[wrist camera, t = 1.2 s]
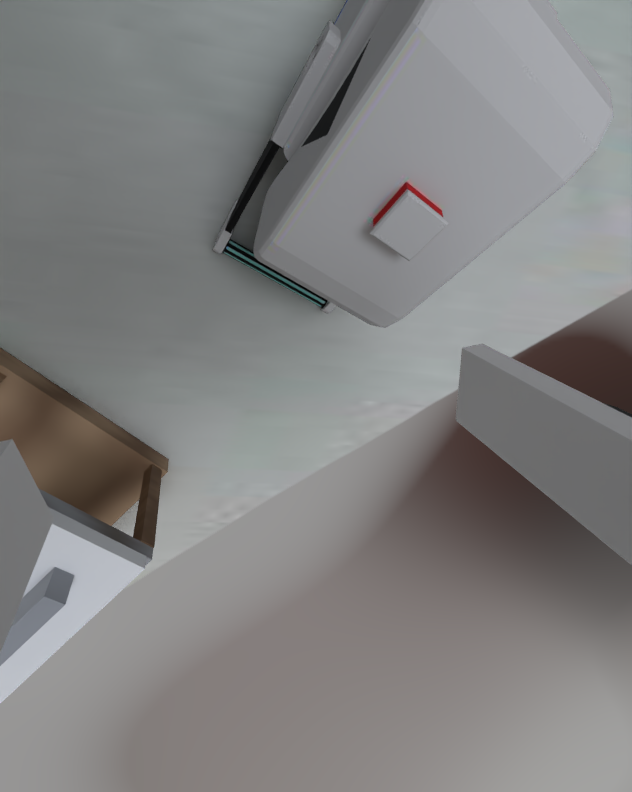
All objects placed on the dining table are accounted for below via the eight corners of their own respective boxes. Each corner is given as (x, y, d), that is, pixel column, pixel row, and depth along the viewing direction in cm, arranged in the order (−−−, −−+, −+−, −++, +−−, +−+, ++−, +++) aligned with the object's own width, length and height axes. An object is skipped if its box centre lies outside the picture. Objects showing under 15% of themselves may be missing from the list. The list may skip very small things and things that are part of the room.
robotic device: (235, 180, 36) (176, 350, 24) (411, -164, 21) (481, -152, 9) (331, 242, 40) (321, 411, 28) (532, -4, 25) (682, 140, 14)
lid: (-121, 660, 23) (-159, 717, 21) (39, 502, 22) (19, 542, 19) (1, 691, 27) (-19, 744, 24) (146, 556, 25) (141, 596, 23)
